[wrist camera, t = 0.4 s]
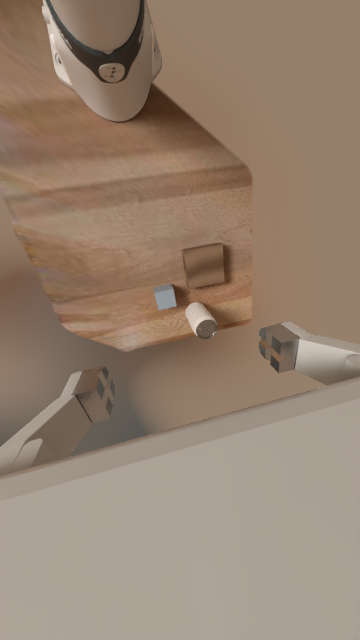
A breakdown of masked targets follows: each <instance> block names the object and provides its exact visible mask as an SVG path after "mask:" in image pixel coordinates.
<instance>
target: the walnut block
mask: <svg viewBox="0 0 360 640" xmlns="http://www.w3.org/2000/svg"><path fill="white" fill-rule="evenodd" d="M182 255H183V262H184V269H185V276H186V283H187V286H188V288H189V289H193V288H198V287H203V286H208V285H213V284H217V283H222V282H225V280H224V259H223V244H222V243H213V244H208V245H203V246H198V247H192V248H187V249H182Z"/></svg>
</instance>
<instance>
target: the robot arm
mask: <svg viewBox="0 0 360 640" xmlns="http://www.w3.org/2000/svg"><path fill="white" fill-rule="evenodd" d="M43 4H44V6H42V11H43V15H44V18H45V21H46V23H47V27H48V32H49V38H50V44H51V50H52V55H53V61H54V67H55V71H56V74H57V76H58V78H59V79H60V81H61V82H62V83H64V84H65V85H66V86H68V87H69V88H71V89H73V90H74V91H76V92H77V93H78V94H79V96H80V97H81V98H82V99H83V101H84V102H85V103H86V104H87V105H88V106H89V107H90V108H91V109H92V110H93V111H94V112H95V113H97V114H98V115H100V116H101V117H103V118H105V119H108V120H111V121H125V120H128V119H131V118H132V117H134V116H135V115H136V114H138V113H139V111H140V110H141V109H142V107H143V106H144V104H145V102H146V100H147V97H148V93H149V90H150V86H151V84H152V81H153V80H154V79H155V78H156V76H157V75H158V74H159V72H160V70H161V67H162V59H161V55H160V51H159V47H158V44H157V40H156V36H155V32H154V28H153V25H152V21H151V17H150V14H149V10H148V6H147V2H146V0H43ZM154 52H155V53H154ZM60 61H61V63H62V64H60ZM259 336H260V337H261V338H262V339H261V340H260V342H259V349H260V353H261V354H262V356H263V357H264V358H265V359H266V360H269V361H271V363H270V365H271V366H272V367H273V368H274V369H275V370H276V371H277V372H278V373H281V372H285V371H289V370H294V369H295V370H296V371H298V372H300V373H302V374H304V375H306V376H308V377H310V378H313V379H315V380H317V381H319V382H321V383H323V384H325V385H327V386H324V387H320V388H317V389H313V390H310V391H306V392H303V393H299V394H295V395H292V396H288V397H284V398H281V399H277V400H274V401H270V402H266V403H263V404H259V405H255V406H251V407H248V408H244V409H241V410H237V411H233V412H230V413H226V414H223V415H219V416H215V417H212V418H208V419H204V420H201V421H198V422H194V423H190V424H187V425H183V426H179V427H176V428H172V429H168V430H165V431H161V432H158V433H154V434H151V435H147V436H143V437H140V438H136V439H132V440H129V441H125V442H121V443H118V444H114V445H111V446H107V447H103V448H100V449H96V450H93V451H89V452H85V453H82V454H78V455H74V456H71V457H69V456H70V454H71V453H72V452H73V450H74V449H75V447H76V446H77V445H78V443H79V442H80V440H81V439H82V438H83V436H84V435H85V433H86V432H87V430H88V429H89V428H90V426H91V425H92V423H94V422H97V421H100V420H104V419H107V418H110V417H111V412H112V406H113V405H112V403H111V401H112V399H113V398H114V395H115V389H114V384H113V381H112V379H111V378H109V377H108V373H109V372H108V370H107V368H106V367H105V366H103V367H98V368H93V369H89V370H84V371H80V372H76V373H73V374H72V375H71V377H70V378H69V380H68V383H67V385H66V387H65V389H64V390H63V392H62V394H61V396H60V399H57V400H55V401H54V402H53V403H52V404H50V405H49V406H48V407H47V408H46V409H45V410H43V411H42V412H41V413H40V414H39V415H37V417H35V418H34V419H33V420H32V421H30V422H29V423H28V424H27V425H26V426H25V427H24V428H22V429H21V430H20V431H19V432H18V433H17V434H15V435H14V436H13V437H12V438H11V439H10V440H8V441H7V442H6V443H5V444H4V445H2V446H1V447H0V640H360V345H359V344H355V343H350V342H346V341H341V340H336V339H332V338H327V337H323V336H318V335H310V334H309V333H307V332H306V331H304V330H302V329H301V328H299V327H298V326H296V325H294V324H293V323H291V322H288V321H286V322H283V323H279V324H276V325H273V326H268V327H265V328H261V329H260V331H259Z"/></svg>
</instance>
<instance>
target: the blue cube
mask: <svg viewBox="0 0 360 640" xmlns="http://www.w3.org/2000/svg"><path fill="white" fill-rule="evenodd" d="M154 292H155V297H156V301H157V305H158V309H159V310H162V309H167V308H171V307H176V306H177V305H176V300H175V295H174V289H173V287H172V285H171V284H168V285H163V286H159V287H154Z"/></svg>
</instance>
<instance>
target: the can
mask: <svg viewBox="0 0 360 640" xmlns="http://www.w3.org/2000/svg"><path fill="white" fill-rule="evenodd" d="M186 317H187V319H188V321H189V323H190V325H191V327H192V329H193V331H194V333H195V334H196V335H197V336H198V337H200V338H202V339H209V338H211V337H212V336H214V335H215V334H216V332H217V323H216V321H215V319H214V318H213V316H212V315H211V314H210V312H209V311H208V310H207V309H206V307H205V306H204V305H203V304H202V303H200V302H194V303H191V304H190V305H189V306H188V307H187V309H186Z"/></svg>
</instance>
